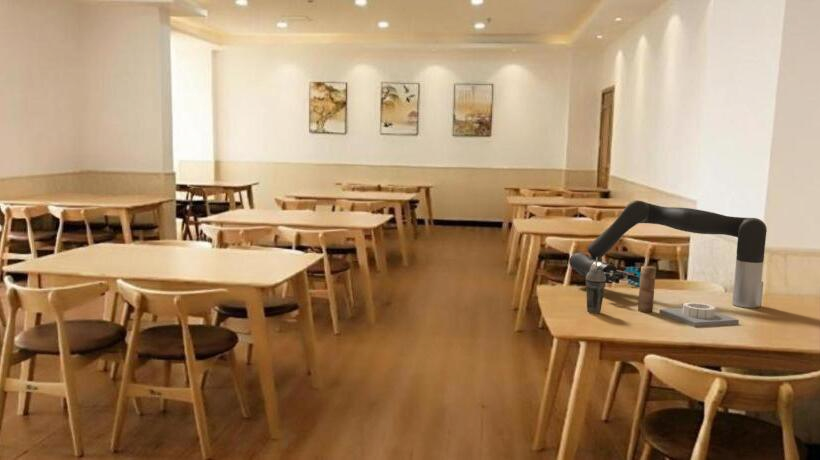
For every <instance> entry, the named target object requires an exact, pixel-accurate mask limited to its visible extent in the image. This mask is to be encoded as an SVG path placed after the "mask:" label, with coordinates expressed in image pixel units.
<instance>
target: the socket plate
mask: <svg viewBox="0 0 820 460" xmlns="http://www.w3.org/2000/svg"><path fill="white" fill-rule="evenodd" d="M658 312H659V314H660V315H663V316H665V317H668V318H670V319H673V320H675V321H679V322H681V323H683V324H685V325H688V326H690V327H693V326H694V328H698V327H701V328H702V327H715V326H717V327H718V326H727V325H731V326H732V325H739V324H740V323H739V322H740V319H737V318H734V317H732V316H729V315H726V314H723V313H720V312H717V311H716V307H715V306H714V305H711V304H707V303H702V302H685V303H683V304H682V307H679V308H659V311H658Z"/></svg>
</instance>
